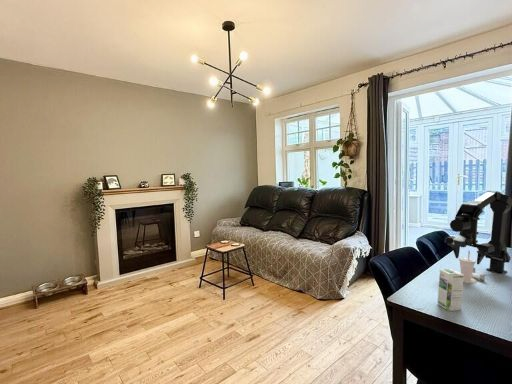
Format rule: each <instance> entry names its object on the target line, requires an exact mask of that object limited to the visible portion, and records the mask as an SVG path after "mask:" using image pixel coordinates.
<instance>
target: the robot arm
mask: <svg viewBox="0 0 512 384" xmlns="http://www.w3.org/2000/svg"><path fill="white" fill-rule="evenodd" d="M488 205H489V208H490V209H491V210H492V212H493V216H492V222H491V233H490V234H491V235H490V236H491V237H490V240H489V241H488V242H485V243H479V242H478V239H477V235H479V231H478V221H480V220H481V219H480V217H479V216H480V215H481V214H482V213H483V209H484V208H485V207H487V206H488ZM510 210H512V197H511V196H509V195H507V194H504V193H502V192H501V191H498V190H486V192H485V193H484V194H482V195H481V196H479V197H477V198H475V199H474V200H471V201H465V202H463V203H462V204H461V205H460V206H459V209H458V211H457V212H456V214H455V217H454V219H452V220H451V221H450V223H449V226H450V229H451V230H452V231H453V232H455V233H459V235H457V236H453V235H451V236H446V237H445V238H444V243H445V244H447V245H448V246H450V248H452V251H453V254H454V257H455V259H459V258H460V257H459V256H460V250H461V249H460V248H466V247H467V246H468V247H472V248H476V249H477V250H476V253H477V259H476V265H480V264H481V262H482V261H483V259H484V258H486V259H489V267H487V268H485V270H486V271H489V272H492V273H496V274H498V275H499V274H500V275H502V274H505V273H508V270H505V263H510V262H511V256H510V253H509V252H508V247H507V245H506V243H505V242H504V239H505V228H506V219H507V213H508V212H510Z"/></svg>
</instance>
